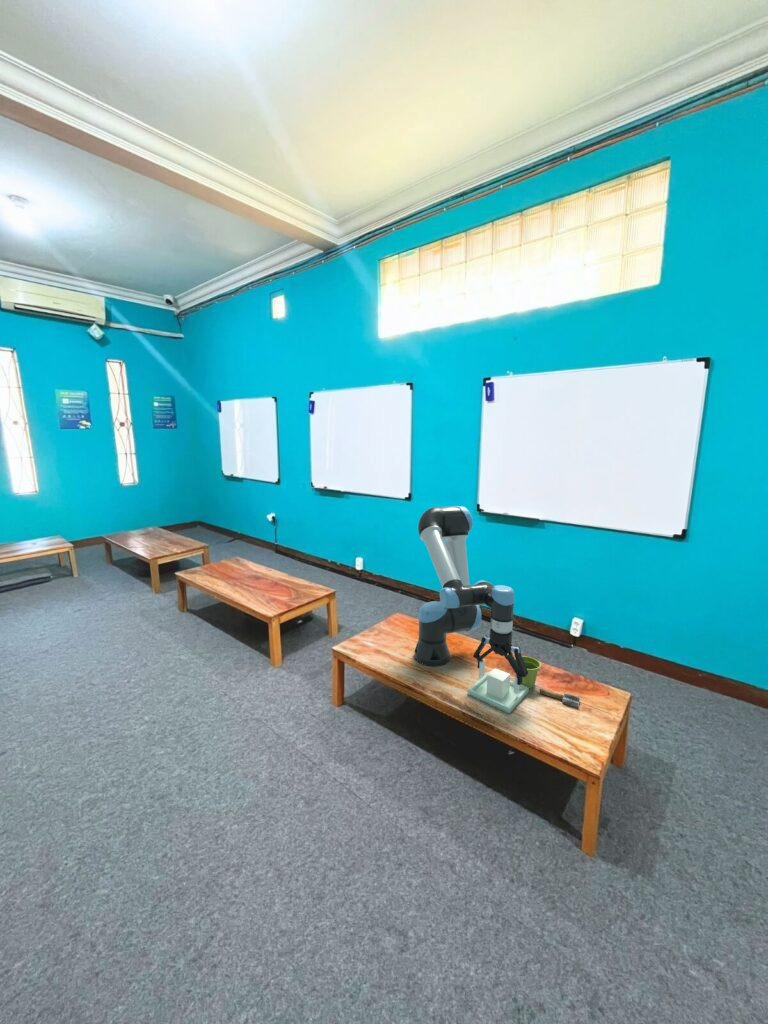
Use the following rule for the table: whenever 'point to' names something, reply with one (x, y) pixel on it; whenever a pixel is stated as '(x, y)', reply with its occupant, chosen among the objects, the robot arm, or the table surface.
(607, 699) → the table surface
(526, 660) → the plant pot
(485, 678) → the tray
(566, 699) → the scoop
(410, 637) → the table surface
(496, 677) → the block
